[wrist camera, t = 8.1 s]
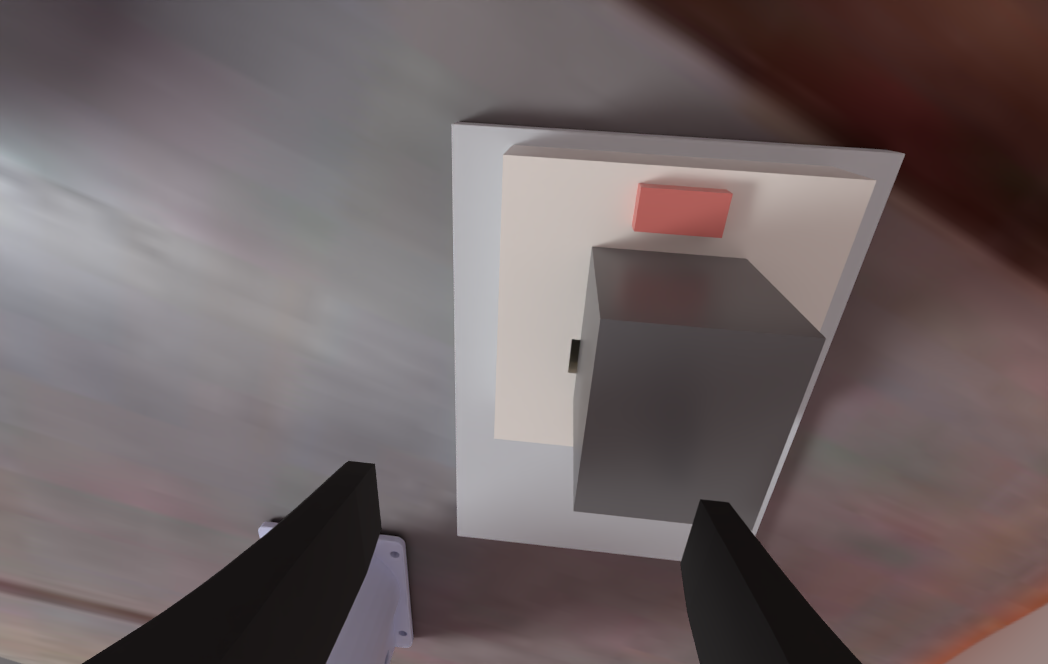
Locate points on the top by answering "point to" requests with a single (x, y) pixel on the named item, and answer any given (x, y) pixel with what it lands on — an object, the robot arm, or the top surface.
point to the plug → (684, 384)
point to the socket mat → (481, 461)
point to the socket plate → (650, 225)
